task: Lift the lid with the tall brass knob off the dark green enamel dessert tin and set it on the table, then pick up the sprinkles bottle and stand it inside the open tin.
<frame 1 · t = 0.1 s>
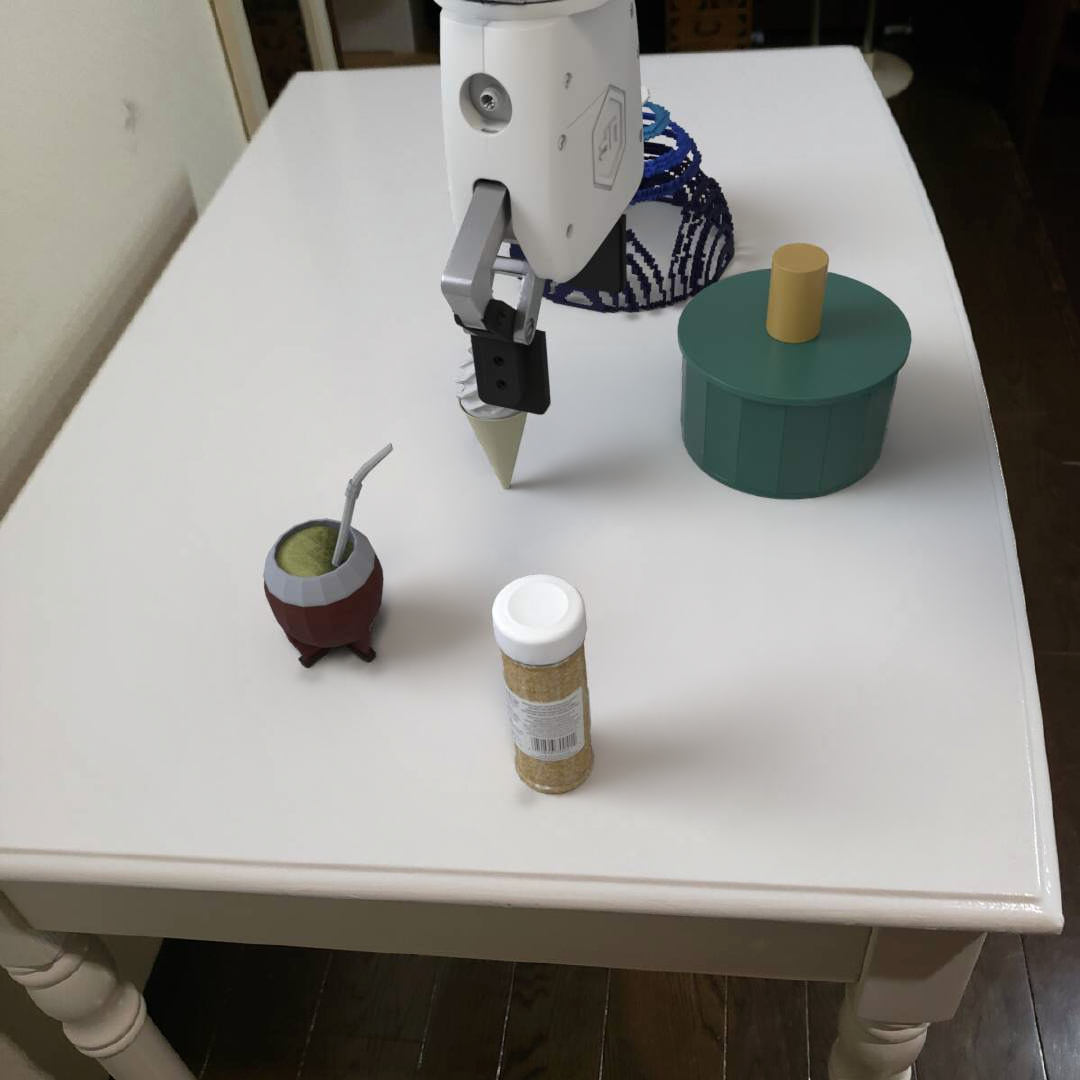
hand: (557, 342, 51), 24 cm above the table, tool pointing down, fingers open, 9 cm apart
decorative bowl: (621, 251, 102), on the table
mate gourd: (348, 635, 71), on the table
lid: (791, 335, 76), point 8 cm above the table, touching tin
ice cream cone: (506, 488, 80), on the table
tin: (781, 432, 82), on the table
sprinkles bottle: (554, 764, 63), on the table
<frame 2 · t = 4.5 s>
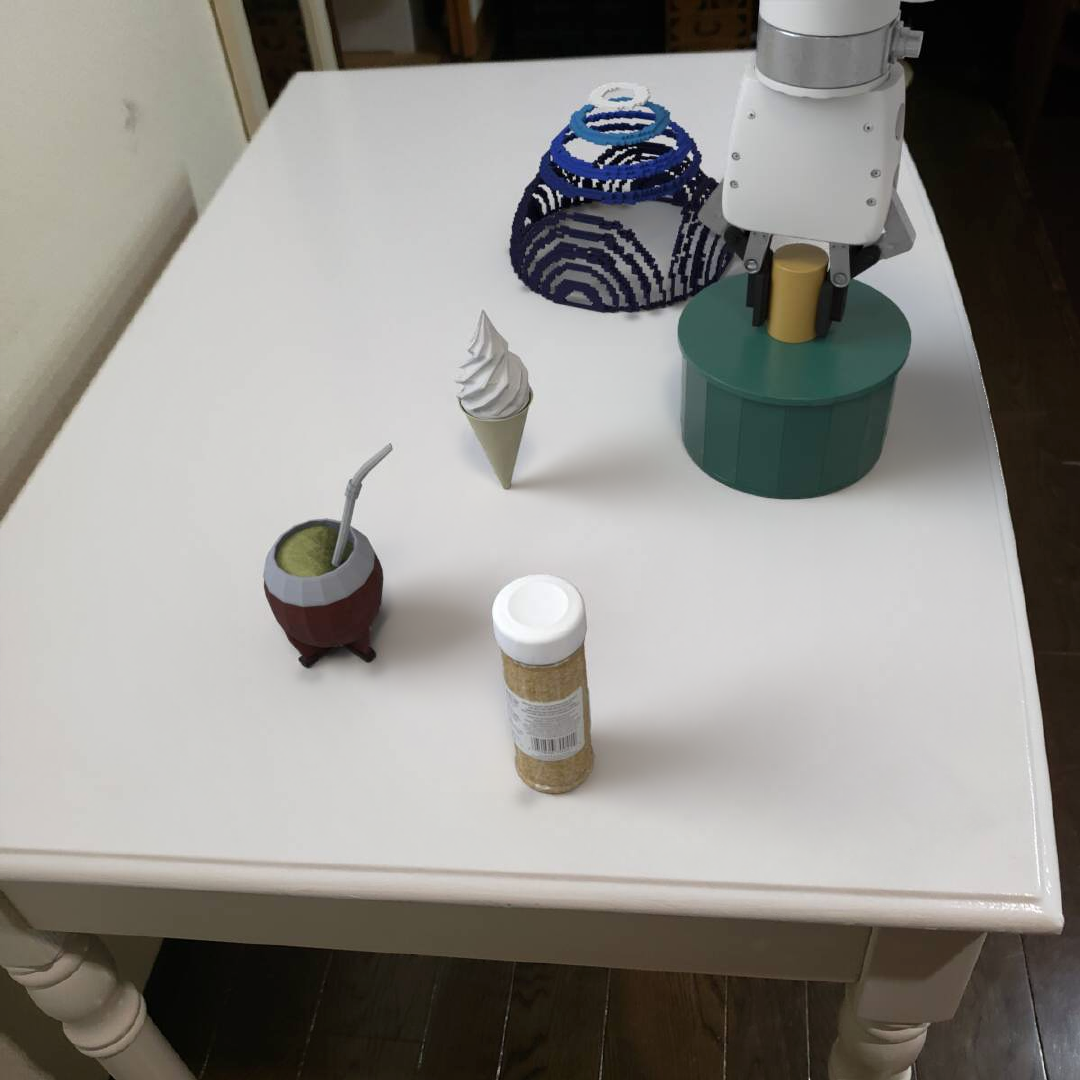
hand: (793, 318, 76), 10 cm above the table, tool pointing down, fingers closed on lid, 3 cm apart
lid: (791, 335, 76), point 9 cm above the table, touching gripper, tin
everything else where it was.
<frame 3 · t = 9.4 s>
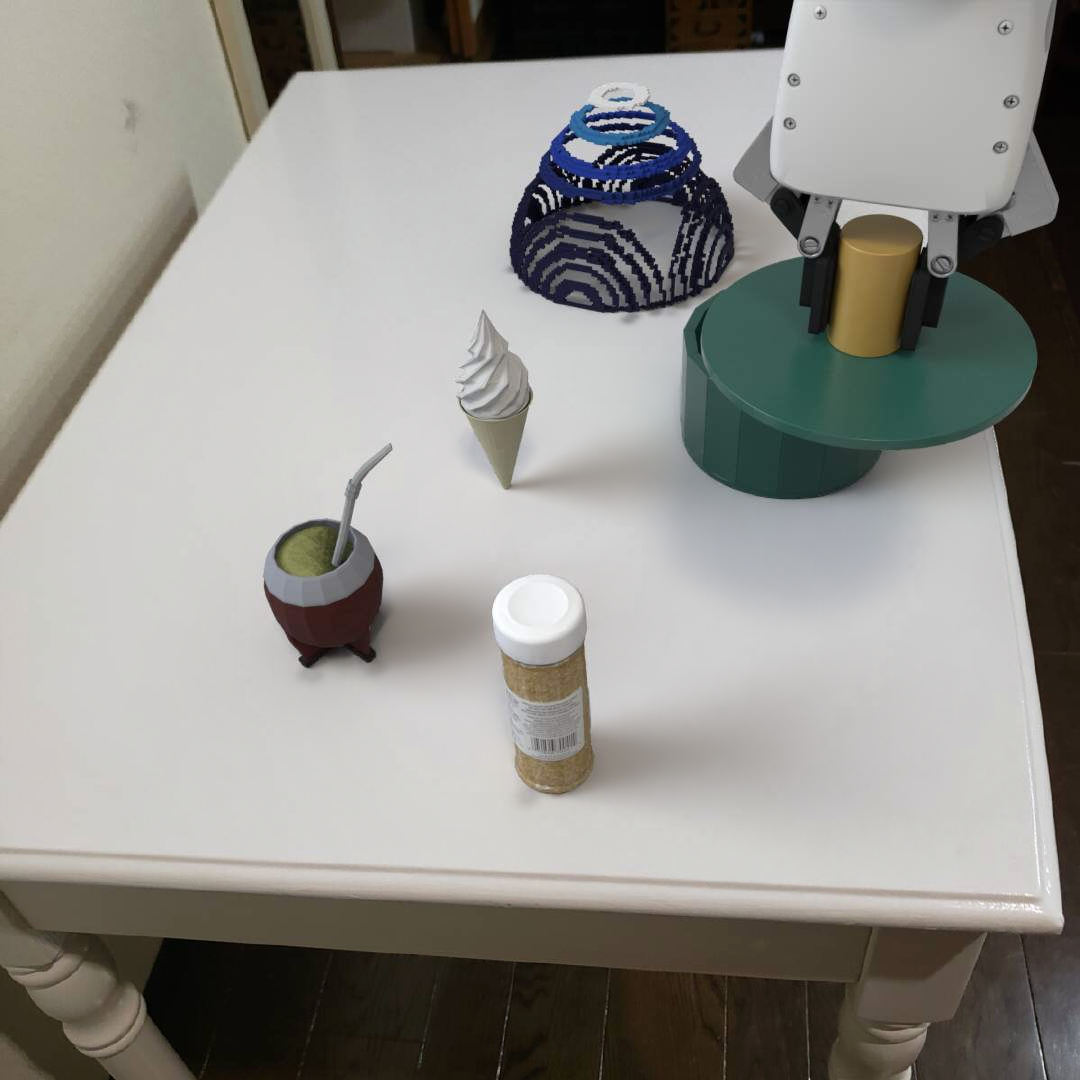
hand: (866, 323, 53), 22 cm above the table, tool pointing down, fingers closed on lid, 3 cm apart
lid: (863, 346, 54), point 21 cm above the table, touching gripper
everything else where it was.
when the fingers open (2 cm above the table, at t = 14.1 s): lid stays where it is, point 1 cm above the table.
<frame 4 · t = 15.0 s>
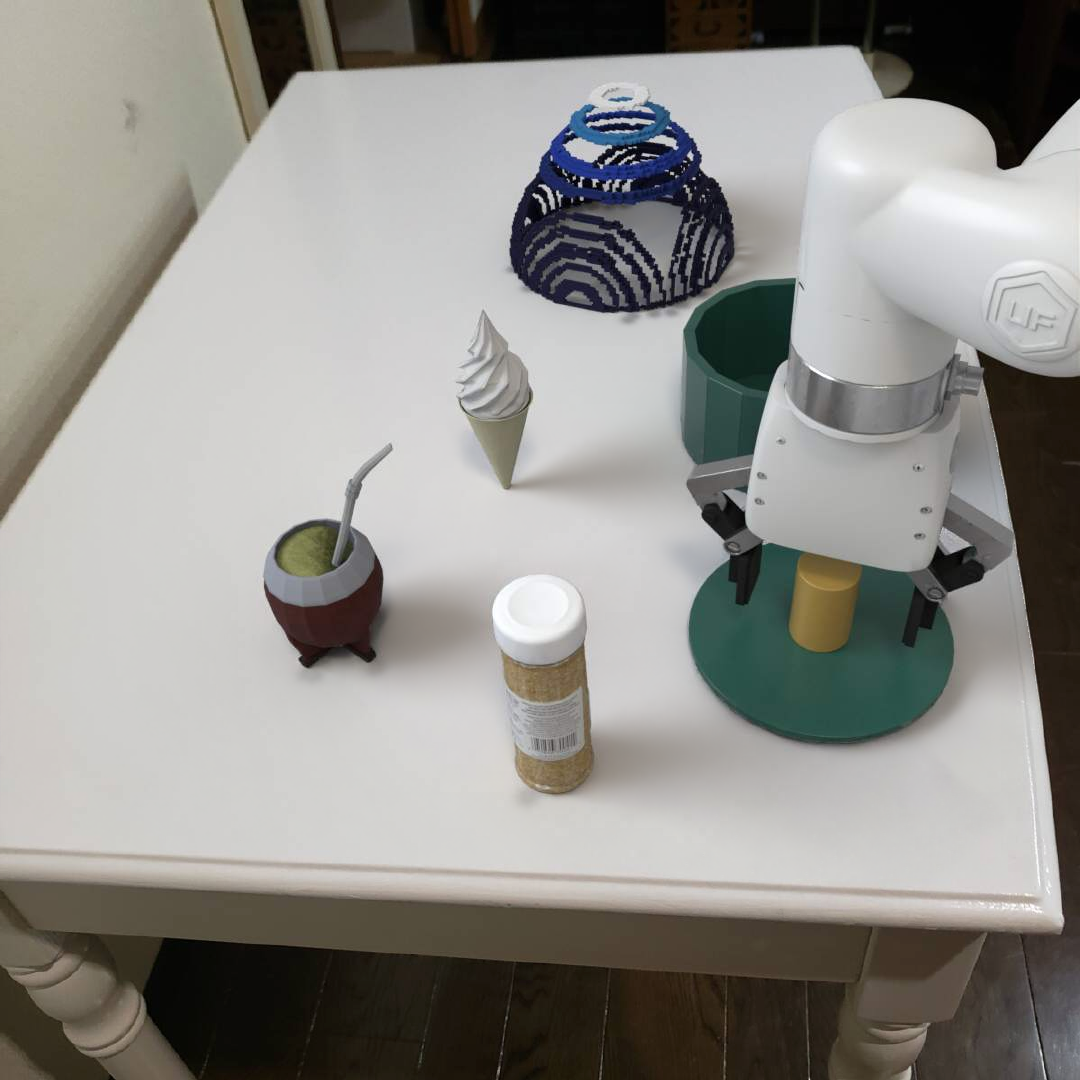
hand: (827, 608, 66), 3 cm above the table, tool pointing down, fingers open, 9 cm apart
lid: (817, 636, 68), point 1 cm above the table
everything else where it was.
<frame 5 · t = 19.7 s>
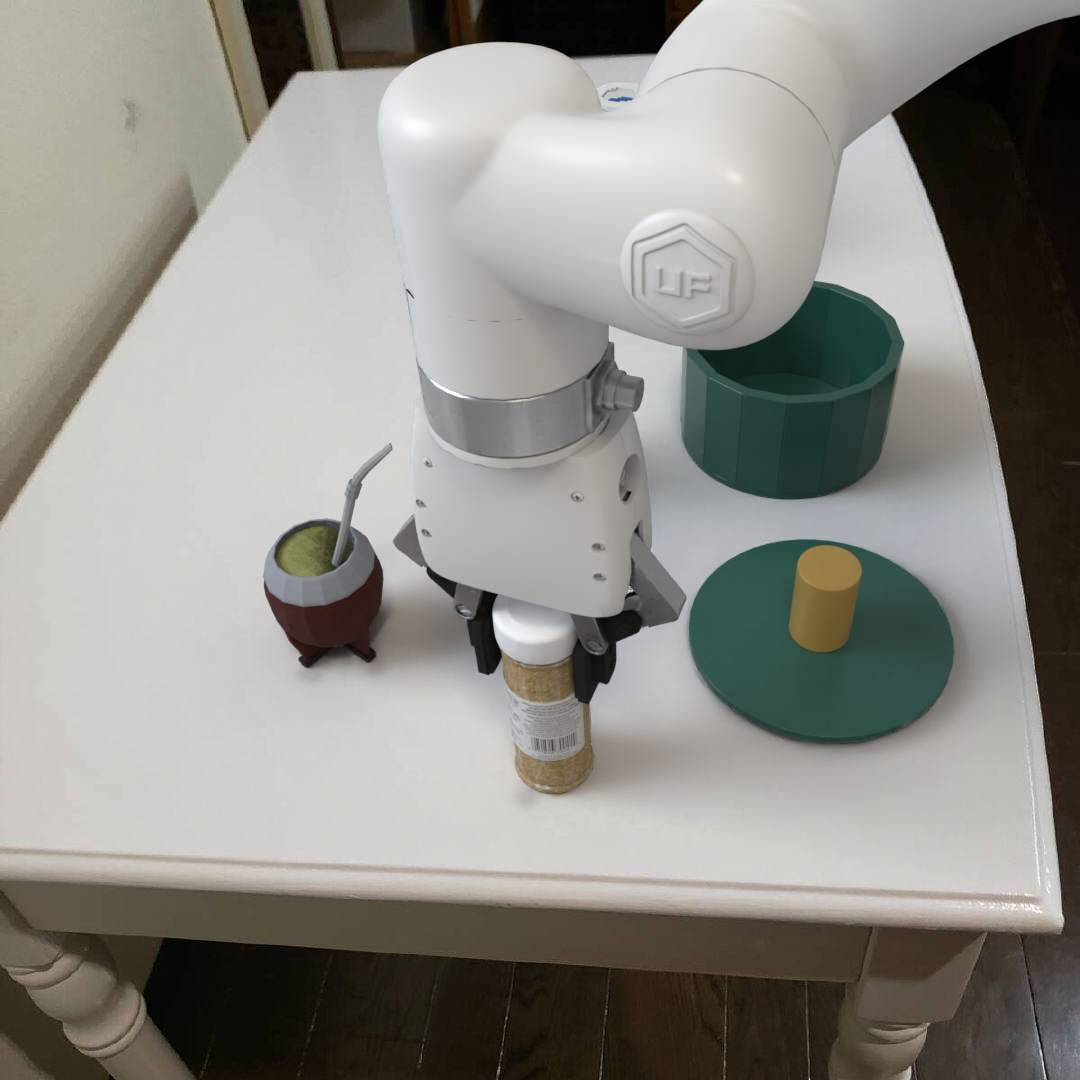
hand: (544, 665, 57), 9 cm above the table, tool pointing down, fingers closed on sprinkles bottle, 4 cm apart
sprinkles bottle: (554, 764, 63), on the table, touching gripper
everything else where it was.
when the fingers open (9 cm above the table, at t = 29.4 s): sprinkles bottle stays where it is, resting on tin.
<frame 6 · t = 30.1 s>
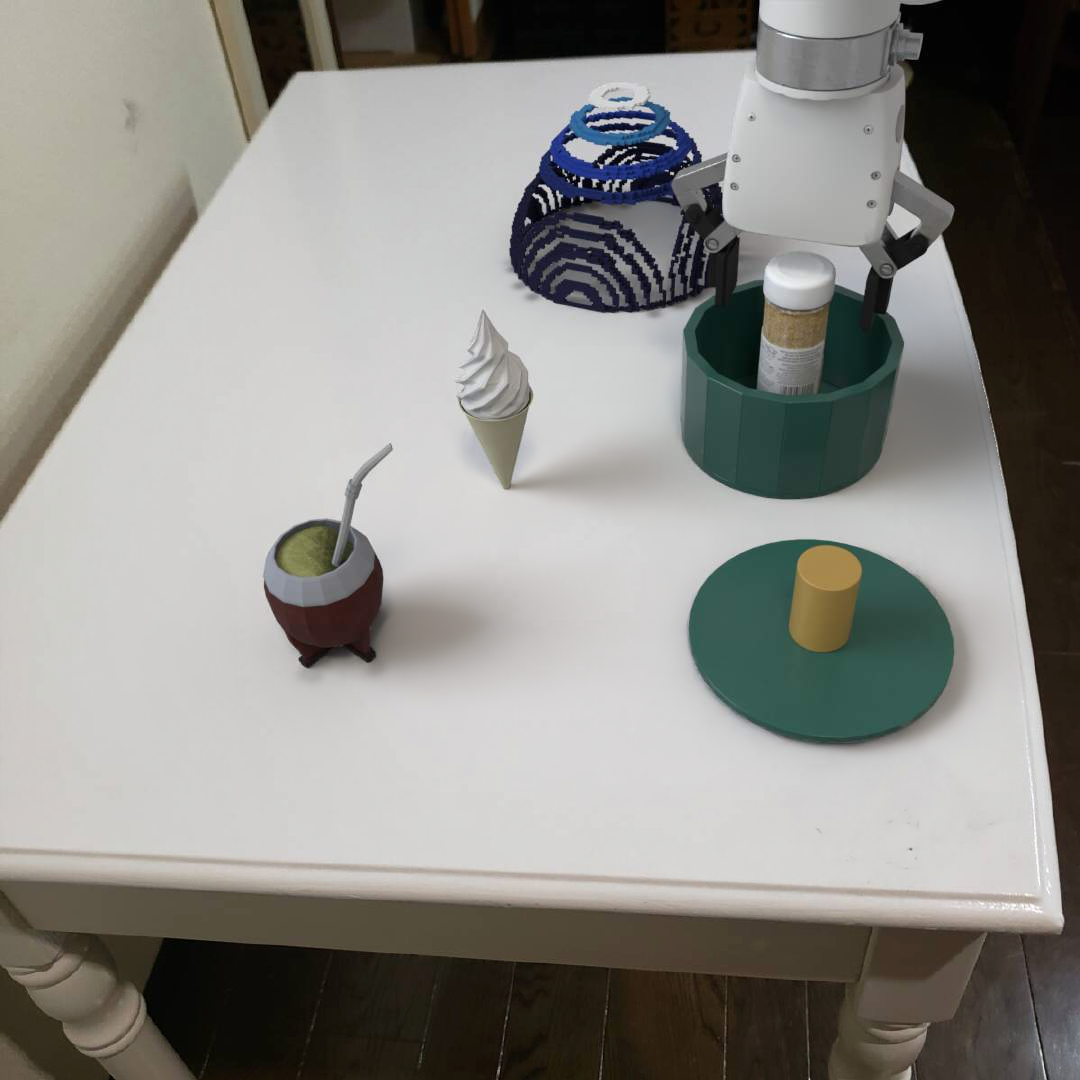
hand: (795, 307, 75), 11 cm above the table, tool pointing down, fingers open, 9 cm apart
sprinkles bottle: (782, 429, 82), resting on tin
everything else where it was.
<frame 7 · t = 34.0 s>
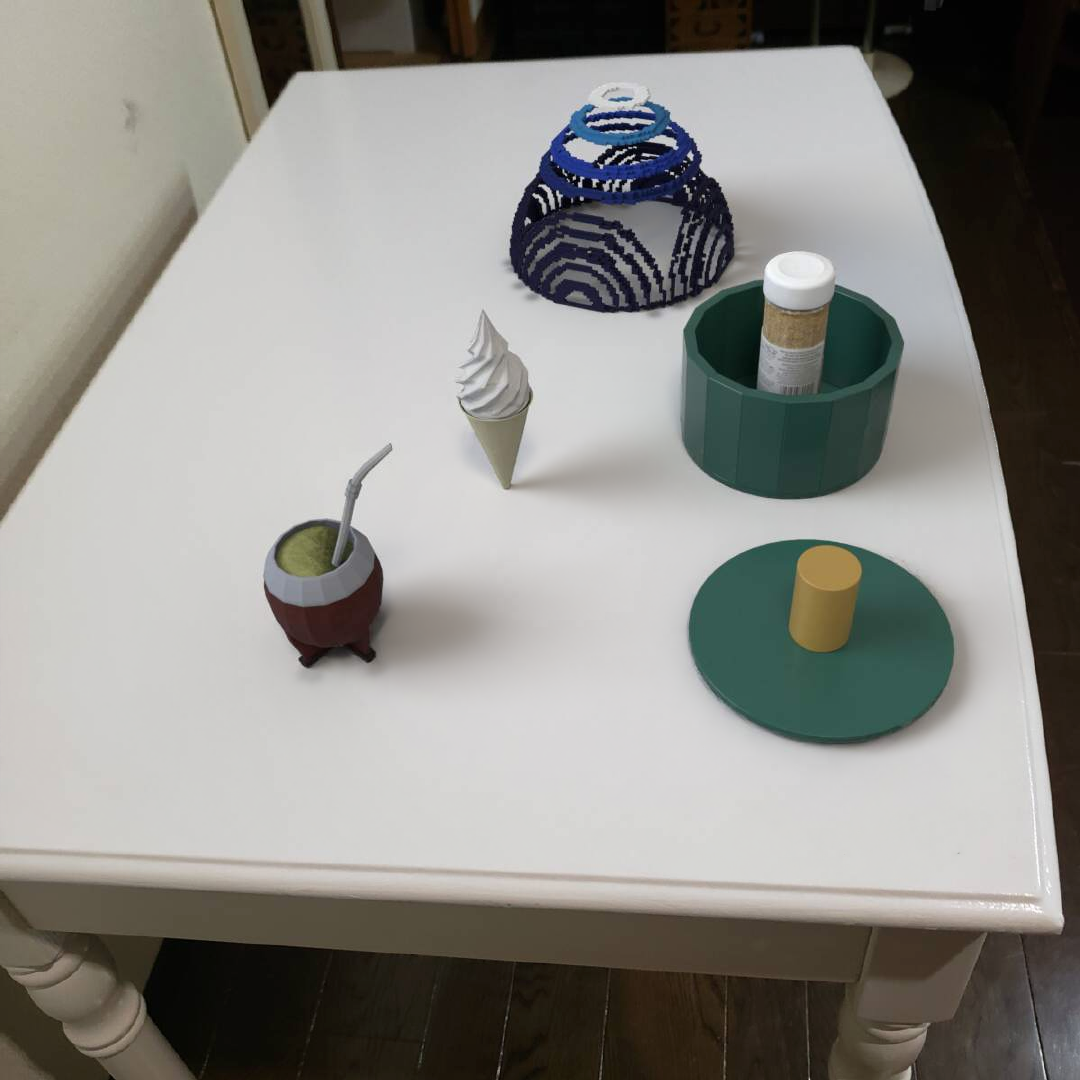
hand: (1044, 8, 51), 33 cm above the table, tool pointing down, fingers open, 9 cm apart
nothing on the table moved.
at the end: lid point 0.6 cm above the table; sprinkles bottle inside the target area in the tin (0.1 cm from its centre), point 0.3 cm above the tin's base; sprinkles bottle tilted 0° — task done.
